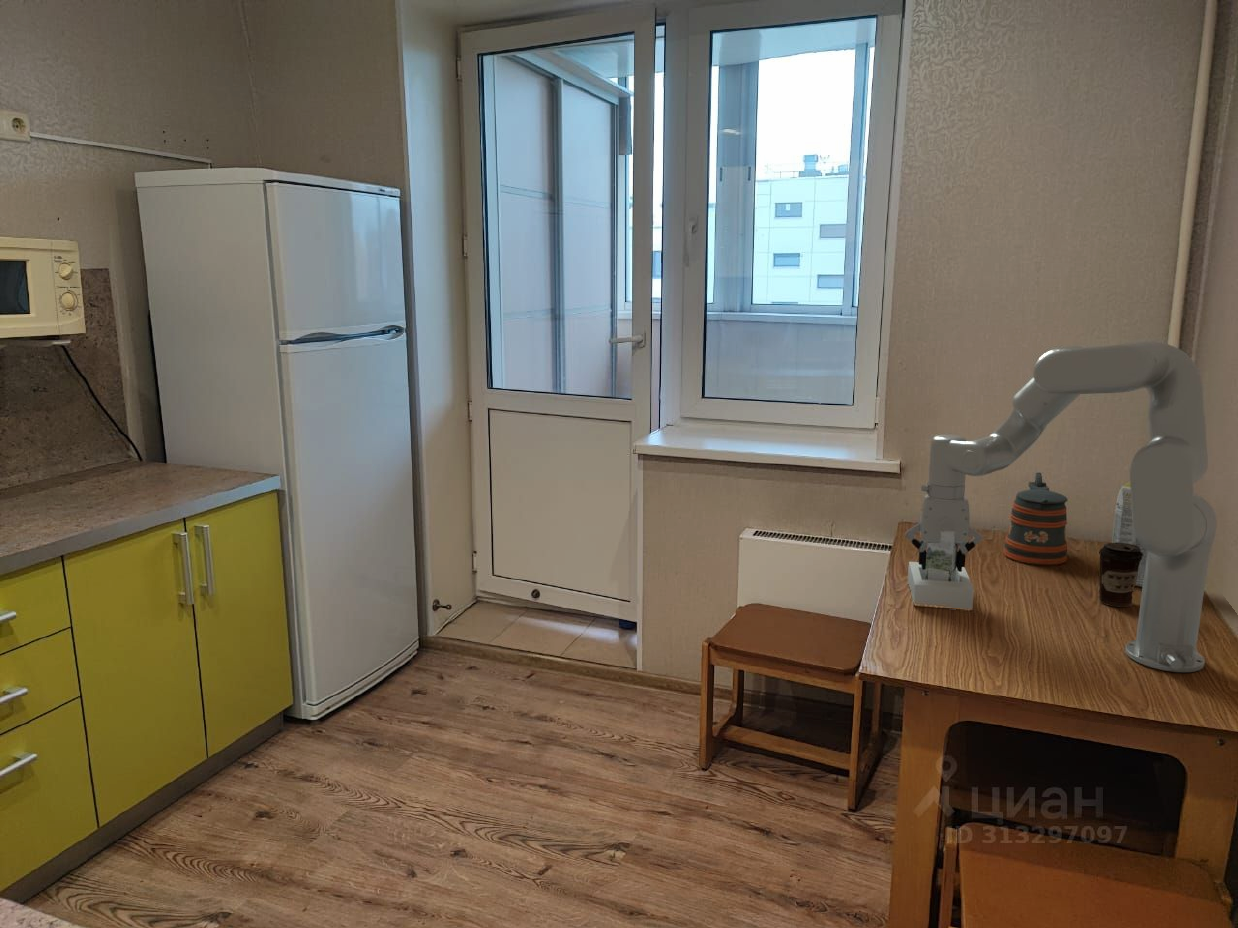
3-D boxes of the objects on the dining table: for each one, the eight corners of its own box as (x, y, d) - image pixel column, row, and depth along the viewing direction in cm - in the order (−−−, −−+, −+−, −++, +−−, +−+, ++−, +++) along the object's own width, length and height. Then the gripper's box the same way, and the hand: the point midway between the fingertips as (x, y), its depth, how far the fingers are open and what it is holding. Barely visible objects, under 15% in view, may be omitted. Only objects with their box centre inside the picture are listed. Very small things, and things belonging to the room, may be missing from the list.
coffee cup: (1144, 611, 185) (1151, 553, 182) (1101, 609, 187) (1107, 551, 184) (1129, 597, 193) (1135, 541, 191) (1088, 594, 195) (1094, 539, 192)
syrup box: (956, 586, 196) (960, 524, 193) (950, 594, 191) (954, 531, 188) (930, 582, 199) (933, 521, 196) (923, 590, 194) (927, 527, 191)
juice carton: (1159, 581, 203) (1171, 481, 198) (1150, 590, 197) (1163, 487, 192) (1114, 572, 209) (1125, 475, 204) (1105, 580, 204) (1116, 481, 199)
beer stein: (997, 541, 235) (1003, 469, 230) (1056, 545, 231) (1064, 472, 226) (1007, 563, 217) (1014, 485, 213) (1072, 568, 213) (1080, 489, 209)
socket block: (972, 610, 187) (974, 585, 186) (913, 606, 189) (915, 582, 188) (961, 585, 202) (963, 562, 201) (907, 581, 205) (908, 559, 204)
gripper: (905, 493, 189) (901, 571, 193) (991, 497, 185) (985, 576, 189) (903, 485, 196) (899, 561, 200) (985, 489, 192) (979, 565, 196)
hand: (941, 568), depth 194 cm, fingers closed on syrup box, 6 cm apart
